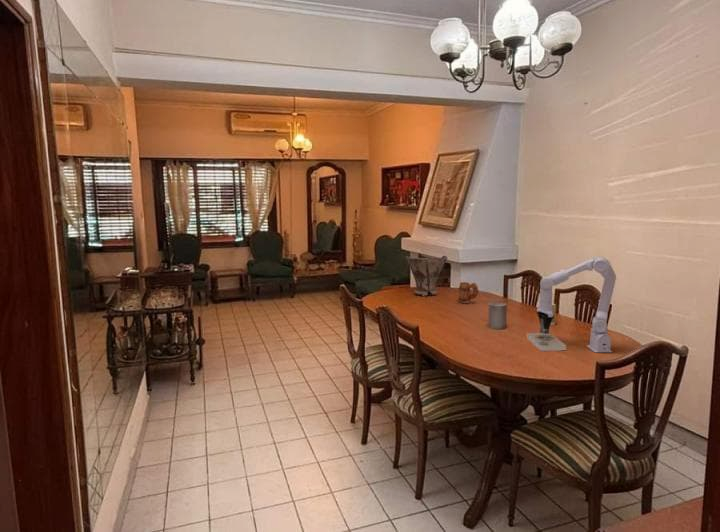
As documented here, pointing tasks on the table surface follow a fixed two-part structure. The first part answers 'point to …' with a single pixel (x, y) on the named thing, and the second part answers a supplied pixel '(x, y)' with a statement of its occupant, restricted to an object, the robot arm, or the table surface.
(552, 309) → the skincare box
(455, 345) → the table surface
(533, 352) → the table surface
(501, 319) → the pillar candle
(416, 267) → the vessel
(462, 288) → the mug
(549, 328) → the bushing
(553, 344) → the plate
